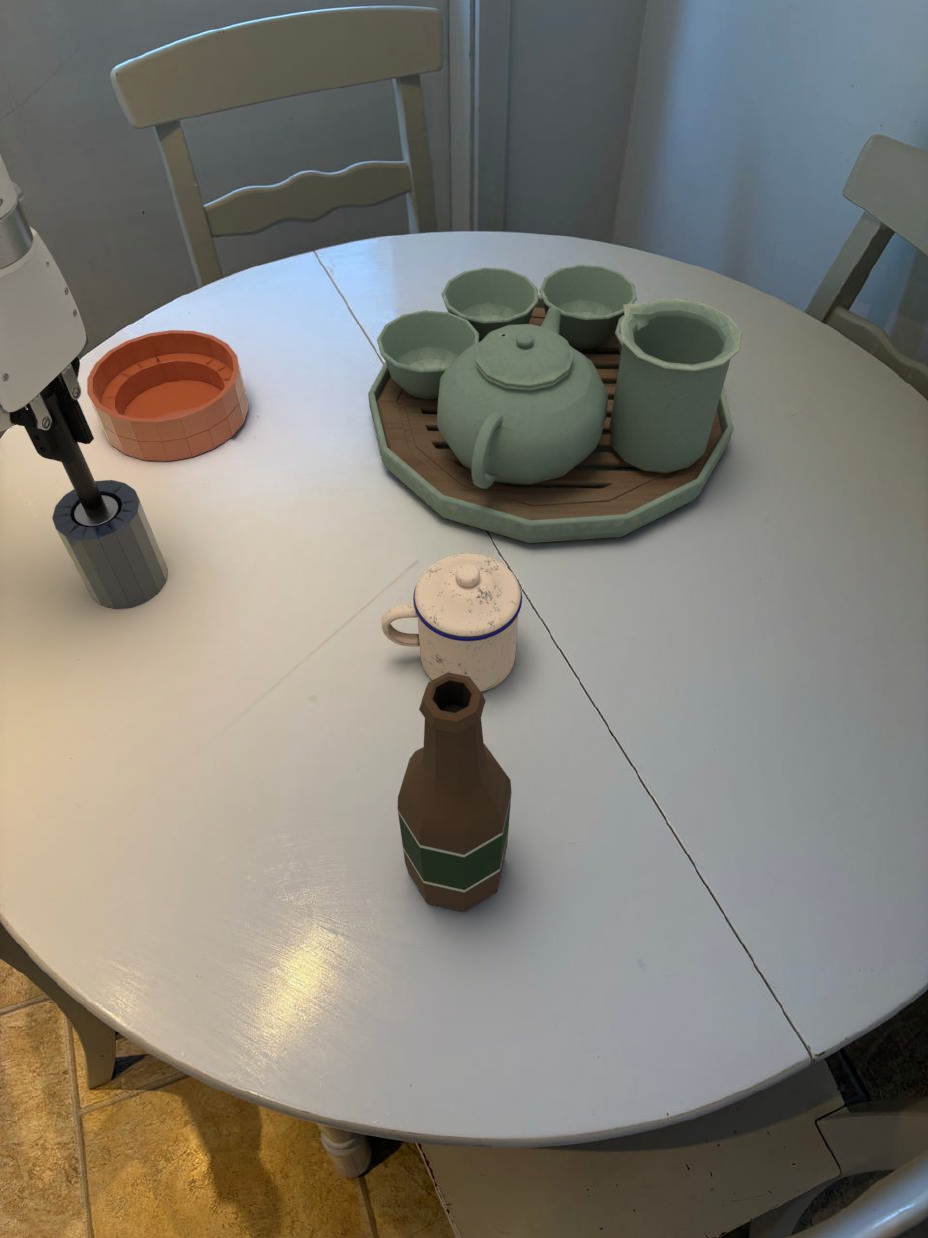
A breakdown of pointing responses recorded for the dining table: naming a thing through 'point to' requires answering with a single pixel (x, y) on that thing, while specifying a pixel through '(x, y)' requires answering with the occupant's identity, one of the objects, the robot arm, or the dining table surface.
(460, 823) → the beer bottle
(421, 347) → the tea set
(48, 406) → the ball-tipped black rod
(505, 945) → the dining table surface
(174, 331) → the bowl
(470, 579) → the teacup with lid
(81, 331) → the robot arm
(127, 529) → the crock
